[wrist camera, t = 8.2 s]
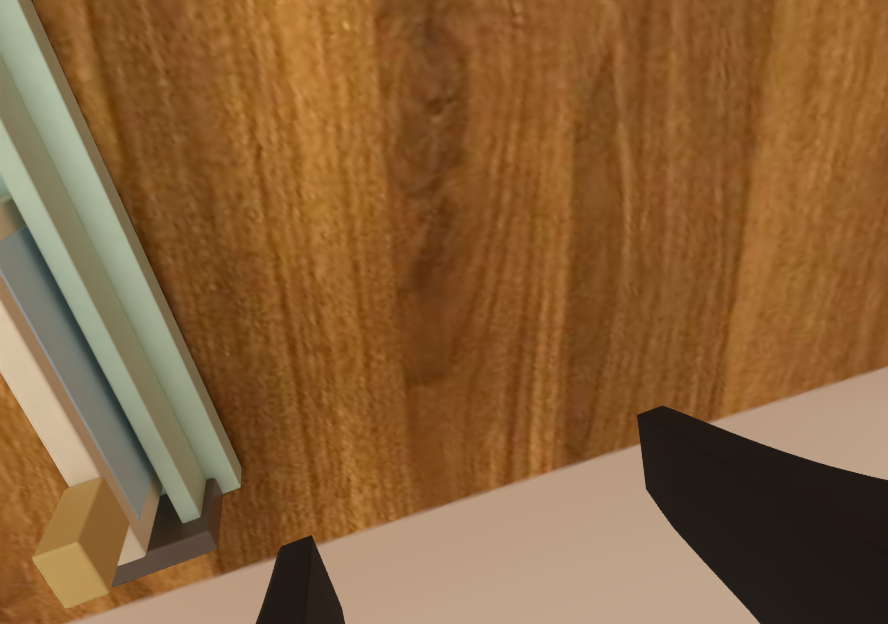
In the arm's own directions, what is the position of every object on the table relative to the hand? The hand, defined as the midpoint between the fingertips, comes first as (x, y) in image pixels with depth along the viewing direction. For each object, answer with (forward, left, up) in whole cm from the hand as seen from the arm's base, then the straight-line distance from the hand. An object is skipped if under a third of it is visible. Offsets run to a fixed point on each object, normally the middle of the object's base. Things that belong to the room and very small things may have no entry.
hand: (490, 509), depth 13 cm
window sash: (+3, +9, -9) cm, 13 cm away
